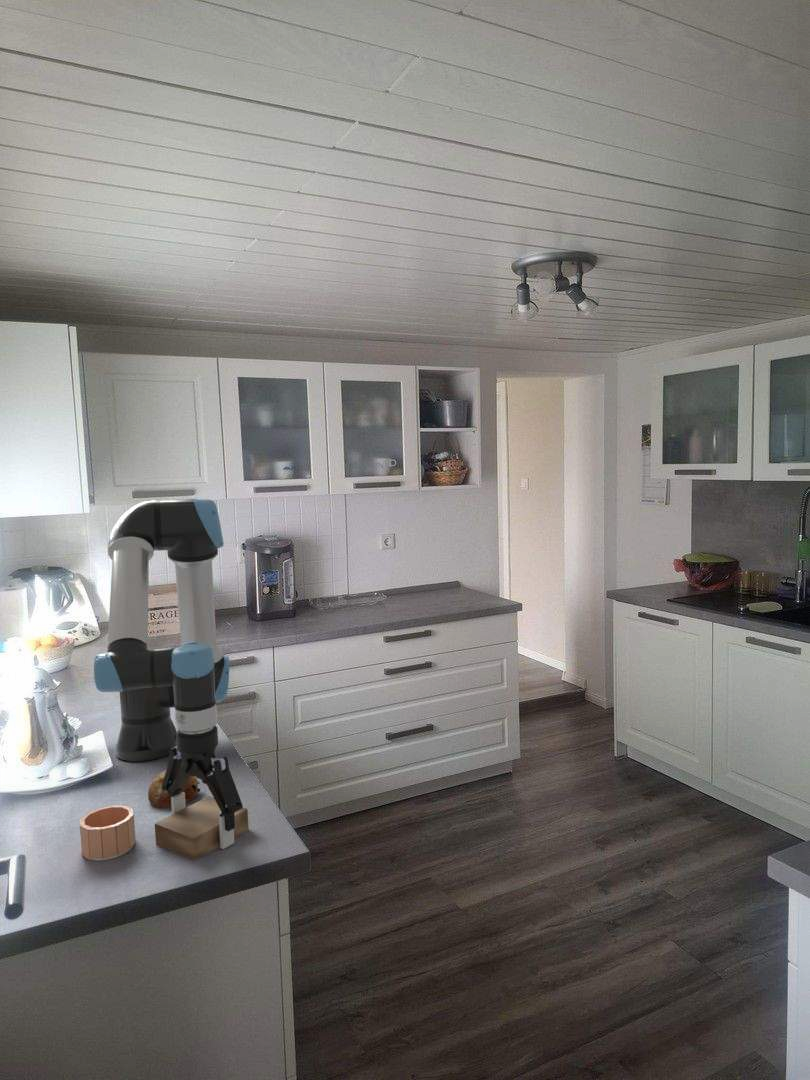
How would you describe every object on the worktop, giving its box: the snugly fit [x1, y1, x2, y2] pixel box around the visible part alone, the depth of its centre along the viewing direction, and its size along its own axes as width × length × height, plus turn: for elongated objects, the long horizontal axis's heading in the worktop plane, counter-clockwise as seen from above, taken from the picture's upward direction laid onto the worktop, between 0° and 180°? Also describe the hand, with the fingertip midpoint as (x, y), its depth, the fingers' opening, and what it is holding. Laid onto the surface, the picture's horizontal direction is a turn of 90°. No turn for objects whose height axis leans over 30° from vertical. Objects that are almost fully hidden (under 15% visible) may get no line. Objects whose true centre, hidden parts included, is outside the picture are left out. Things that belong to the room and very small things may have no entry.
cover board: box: [154, 796, 250, 861], centre depth 136 cm, size 13×11×4 cm
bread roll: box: [147, 769, 201, 809], centre depth 153 cm, size 10×10×8 cm
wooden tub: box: [79, 805, 137, 862], centre depth 133 cm, size 9×9×6 cm
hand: (203, 836), depth 136 cm, fingers open, 13 cm apart
